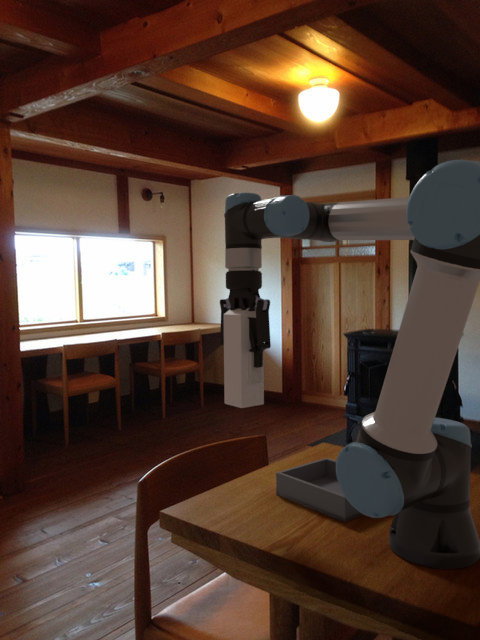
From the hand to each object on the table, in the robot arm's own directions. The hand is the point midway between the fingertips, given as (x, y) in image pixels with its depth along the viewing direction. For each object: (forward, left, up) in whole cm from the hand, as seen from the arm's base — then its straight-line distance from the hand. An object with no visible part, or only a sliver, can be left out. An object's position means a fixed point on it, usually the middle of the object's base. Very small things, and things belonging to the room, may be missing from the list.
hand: (244, 380), depth 115 cm
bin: (-9, -18, -27) cm, 33 cm away
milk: (0, 0, -5) cm, 5 cm away
